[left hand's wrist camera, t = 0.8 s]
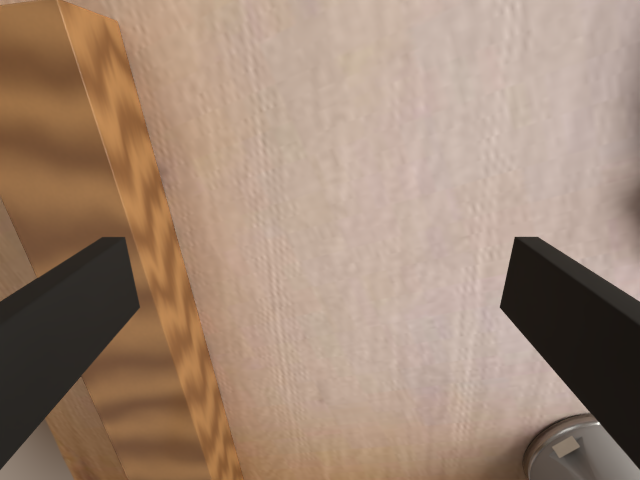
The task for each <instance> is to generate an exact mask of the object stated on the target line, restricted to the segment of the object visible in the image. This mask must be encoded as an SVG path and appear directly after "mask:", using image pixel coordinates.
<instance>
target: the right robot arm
mask: <svg viewBox="0 0 640 480" xmlns="http://www.w3.org/2000/svg"><path fill="white" fill-rule="evenodd" d="M523 468H524V472H525V475H526V476H527V478H528V480H640V470H639V468H638V467H637V466H636V465H635V464H634V463H633V461H632V460H631V459H630V458H629V457H628V456H627V454H626V453H625V452H624V451H623V450H622V449H621V448H620V446H619V445H618V444H617V443H616V442H615V441H614V439H613V438H612V437H611V436H610V435H609V434H608V432H607V431H606V430H605V429H604V428H603V427H602V425H601V424H600V423H599V422H598V421H597V420H596V419H595V417H594V416H593V415H592V414H584V415H578V416H574V417H571V418H567V419H565V420H562V421H560V422H558V423H556V424H554V425H552V426H550V427H549V428H547V429H546V430H544V431H543V432H542V433H540V434H539V435H538V436H537V437H536V438H535V439H534V440H533V441H532V443H531V444H530V445H529V447H528V448H527V450H526V453H525V455H524V459H523Z"/></svg>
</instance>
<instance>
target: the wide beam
mask: <svg viewBox="0 0 640 480" xmlns="http://www.w3.org/2000/svg"><path fill="white" fill-rule="evenodd" d="M0 196H1V199H2V201H3V203H4V205H5V208H6V210H7V212H8V214H9V216H10V219H11V221H12V223H13V225H14V228H15V230H16V232H17V234H18V236H19V239H20V241H21V243H22V245H23V247H24V250H25V252H26V254H27V256H28V259H29V261H30V263H31V265H32V267H33V270H34V272H35V274H36V276H37V278H38V277H40V276H42V275H43V274H45V273H46V272H48V271H49V270H51V269H53V268H54V267H56V266H57V265H59V264H60V263H62V262H64V261H65V260H67V259H68V258H70V257H72V256H73V255H75V254H76V253H78V252H79V251H81V250H83V249H84V248H86V247H87V246H89V245H90V244H92V243H94V242H95V241H97V240H98V239H100V238H101V237H125V239H126V244H127V248H128V253H129V258H130V262H131V267H132V272H133V276H134V281H135V286H136V290H137V295H138V300H139V304H140V308H139V309H138V311H137V312H136V313H135V314H134V315H133V316H132V318H131V319H130V320H129V321H128V322H127V323H126V324H125V326H124V327H123V328H122V329H121V330H120V331H119V333H118V334H117V335H116V336H115V337H114V338H113V340H112V341H111V342H110V343H109V344H108V345H107V347H106V348H105V349H104V350H103V351H102V352H101V353H100V355H99V356H98V357H97V358H96V359H95V360H94V362H93V363H92V364H91V365H90V366H89V367H88V369H87V370H86V371H85V372H84V373H83V374H82V378H83V381H84V383H85V385H86V387H87V390H88V392H89V394H90V396H91V398H92V401H93V403H94V405H95V407H96V410H97V412H98V414H99V416H100V418H101V421H102V423H103V425H104V427H105V430H106V432H107V434H108V436H109V438H110V441H111V443H112V445H113V447H114V449H115V452H116V454H117V456H118V458H119V461H120V463H121V465H122V467H123V469H124V472H125V474H126V476H127V478H128V480H244V479H243V475H242V472H241V468H240V464H239V461H238V457H237V454H236V450H235V446H234V443H233V439H232V435H231V432H230V428H229V425H228V421H227V417H226V414H225V410H224V406H223V403H222V399H221V396H220V392H219V388H218V385H217V381H216V377H215V374H214V370H213V367H212V363H211V359H210V356H209V352H208V348H207V345H206V341H205V338H204V334H203V330H202V327H201V323H200V319H199V316H198V312H197V309H196V305H195V301H194V298H193V294H192V290H191V287H190V283H189V280H188V276H187V272H186V269H185V265H184V261H183V258H182V254H181V250H180V247H179V243H178V240H177V236H176V232H175V229H174V225H173V221H172V218H171V214H170V211H169V207H168V203H167V200H166V196H165V192H164V189H163V185H162V182H161V178H160V174H159V171H158V167H157V163H156V160H155V156H154V153H153V149H152V145H151V142H150V138H149V134H148V131H147V127H146V124H145V120H144V116H143V113H142V109H141V105H140V102H139V98H138V95H137V91H136V87H135V84H134V80H133V76H132V73H131V69H130V66H129V62H128V58H127V55H126V51H125V47H124V44H123V40H122V37H121V33H120V29H119V26H118V22H117V21H116V20H113V19H110V18H108V17H105V16H103V15H100V14H97V13H95V12H92V11H89V10H87V9H84V8H81V7H79V6H76V5H73V4H71V3H68V2H65V1H63V0H36V1H29V2H21V3H14V4H6V5H0Z"/></svg>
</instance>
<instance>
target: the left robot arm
mask: <svg viewBox="0 0 640 480" xmlns="http://www.w3.org/2000/svg"><path fill="white" fill-rule="evenodd" d="M139 308H140V304H139V300H138V295H137V290H136V286H135V281H134V276H133V272H132V267H131V262H130V258H129V253H128V248H127V244H126V239H125V237H101V238H100V239H98V240H97V241H95V242H94V243H92V244H90V245H89V246H87V247H86V248H84V249H83V250H81V251H79V252H78V253H76V254H75V255H73V256H72V257H70V258H68V259H67V260H65V261H64V262H62V263H60V264H59V265H57V266H56V267H54V268H53V269H51V270H49V271H48V272H46V273H45V274H43V275H42V276H40V277H38V278H37V279H35V280H34V281H32V282H31V283H29V284H27V285H26V286H24V287H23V288H21V289H20V290H18V291H16V292H15V293H13V294H12V295H10V296H9V297H7V298H5V299H4V300H2V301H1V302H0V470H1V468H2V467H3V466H4V465H5V464H6V463H7V461H8V460H9V459H10V458H11V457H12V456H13V454H14V453H15V452H16V451H17V450H18V449H19V447H20V446H21V445H22V444H23V443H24V442H25V441H26V439H27V438H28V437H29V436H30V435H31V434H32V432H33V431H34V430H35V429H36V428H37V427H38V425H39V424H40V423H41V422H42V421H43V420H44V419H45V417H46V416H47V415H48V414H49V413H50V412H51V410H52V409H53V408H54V407H55V406H56V405H57V403H58V402H59V401H60V400H61V399H62V398H63V396H64V395H65V394H66V393H67V392H68V391H69V389H70V388H71V387H72V386H73V385H74V384H75V383H76V381H77V380H78V379H79V378H80V377H81V376H82V374H83V373H84V372H85V371H86V370H87V369H88V367H89V366H90V365H91V364H92V363H93V362H94V360H95V359H96V358H97V357H98V356H99V355H100V353H101V352H102V351H103V350H104V349H105V348H106V347H107V345H108V344H109V343H110V342H111V341H112V340H113V338H114V337H115V336H116V335H117V334H118V333H119V331H120V330H121V329H122V328H123V327H124V326H125V324H126V323H127V322H128V321H129V320H130V319H131V318H132V316H133V315H134V314H135V313H136V312H137V311H138V309H139ZM500 308H501V309H502V311H503V312H504V313H505V314H506V315H507V316H508V318H509V319H510V320H511V321H512V322H513V323H514V324H515V326H516V327H517V328H518V329H519V330H520V331H521V333H522V334H523V335H524V336H525V337H526V338H527V340H528V341H529V342H530V343H531V344H532V345H533V347H534V348H535V349H536V350H537V351H538V352H539V353H540V355H541V356H542V357H543V358H544V359H545V360H546V362H547V363H548V364H549V365H550V366H551V367H552V369H553V370H554V371H555V372H556V373H557V374H558V376H559V377H560V378H561V379H562V380H563V381H564V383H565V384H566V385H567V386H568V387H569V388H570V389H571V391H572V392H573V393H574V394H575V395H576V396H577V398H578V399H579V400H580V401H581V402H582V403H583V405H584V406H585V407H586V408H587V409H588V410H589V412H590V413H591V414H592V415H593V416H594V417H595V419H596V420H597V421H598V422H599V423H600V424H601V425H602V427H603V428H604V429H605V430H606V431H607V432H608V434H609V435H610V436H611V437H612V438H613V439H614V441H615V442H616V443H617V444H618V445H619V446H620V448H621V449H622V450H623V451H624V452H625V453H626V454H627V456H628V457H629V458H630V459H631V460H632V461H633V463H634V464H635V465H636V466H637V467H638V468H639V470H640V302H639V301H638V300H636V299H635V298H633V297H631V296H630V295H628V294H627V293H625V292H624V291H622V290H620V289H619V288H617V287H616V286H614V285H613V284H611V283H609V282H608V281H606V280H605V279H603V278H602V277H600V276H598V275H597V274H595V273H594V272H592V271H591V270H589V269H587V268H586V267H584V266H583V265H581V264H580V263H578V262H576V261H575V260H573V259H572V258H570V257H568V256H567V255H565V254H564V253H562V252H561V251H559V250H557V249H556V248H554V247H553V246H551V245H550V244H548V243H546V242H545V241H543V240H542V239H540V238H539V237H515V239H514V244H513V248H512V253H511V258H510V262H509V267H508V272H507V276H506V281H505V286H504V290H503V295H502V300H501V304H500Z"/></svg>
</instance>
